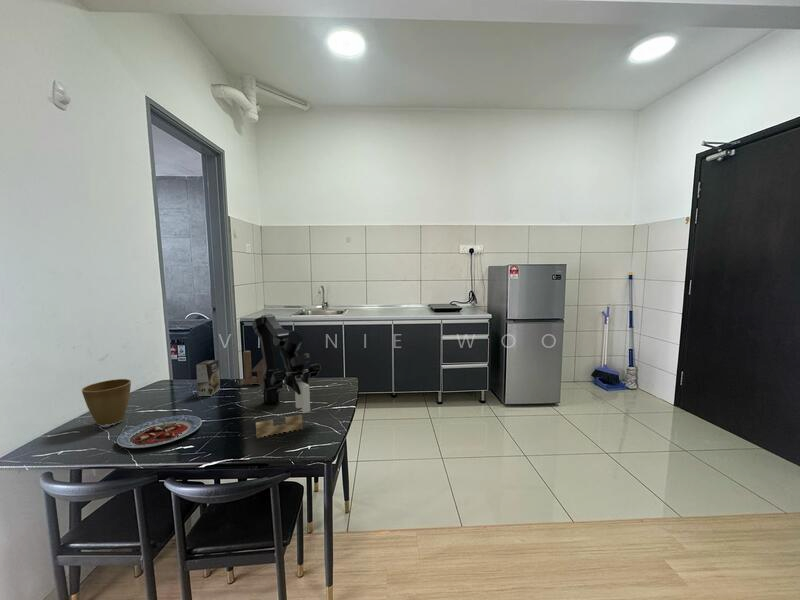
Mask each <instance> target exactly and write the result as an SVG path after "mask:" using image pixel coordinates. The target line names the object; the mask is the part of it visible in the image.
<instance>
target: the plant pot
mask: <svg viewBox="0 0 800 600" xmlns="http://www.w3.org/2000/svg"><path fill="white" fill-rule="evenodd" d="M131 381H132V380H130V379H128V378H118V379H117V378H116V379H109V380H103V381H99V382H96V383H92V384H89V385H87V386H85V387H83V388H82V389H81V392H82V393H81V394H82V396H83V399H84V401H85V404H86V407H87V408H88V411H89V413H90V414H91V416H92V418H93V420H94V421H95V423H96V424H97V425H98V424H100V425H105V424H112V423H116V422H119V421H121V420H123V421H124V420H125V416H126V412H127V410H128V405H129V400H130V394H131V383H132V382H131Z"/></svg>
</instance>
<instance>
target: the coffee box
mask: <svg viewBox="0 0 800 600" xmlns="http://www.w3.org/2000/svg"><path fill="white" fill-rule="evenodd" d="M195 367H196V381H197V382H196V385H197V397H198V396H211V397H212V395H213V394H214V395H215V393H216V392H217V393H219V392H220V391H221V386H220V385H221V384H220V365H219V359H211V360H207V359H206V360H204V361H201V362H200V363H197V364H196V366H195ZM219 390H220V391H219ZM218 391H219V392H218ZM217 393H216V394H217ZM214 395H213V396H214Z"/></svg>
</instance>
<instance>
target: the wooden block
mask: <svg viewBox="0 0 800 600" xmlns="http://www.w3.org/2000/svg"><path fill="white" fill-rule="evenodd" d="M242 354H243V371H244V372H243V374H244V378H243V385H244V384H251V383H261V381H262V375H263V372H264V370H265V367H264V361H263V358H261V359H260V361H259V362H258V363H257V364H256V365H255V366H254V367H253V368H252V357H251V356H252V355H251V354H252V353H251V350H244V351H243V352H242ZM252 373H256V375H257V376H253V375H252Z"/></svg>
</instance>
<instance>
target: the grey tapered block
mask: <svg viewBox="0 0 800 600" xmlns="http://www.w3.org/2000/svg"><path fill="white" fill-rule="evenodd" d="M296 382H297V384H298V386H299V389H300V392H301V394H300V395H299V394H298V393H297V392H295V391H294V396H295V397H294V398H295V408H296V409H301V412H302V413H303V414H305V413H308V412H309V413H310V412H311V394H310V392H311V391H310V385H309V383H308V384H306V383H304V382H302V381H301V380H298V381H297V380H296Z"/></svg>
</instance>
